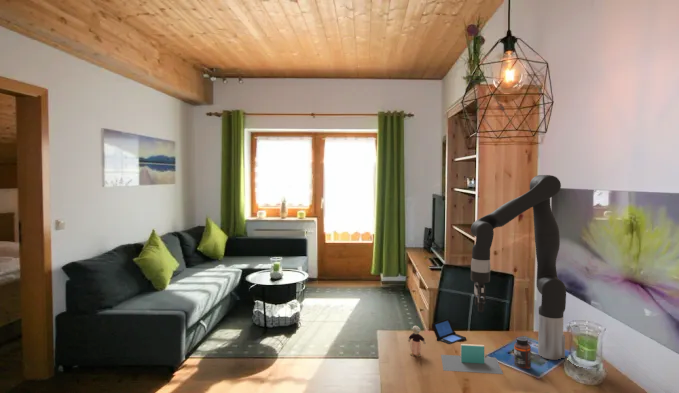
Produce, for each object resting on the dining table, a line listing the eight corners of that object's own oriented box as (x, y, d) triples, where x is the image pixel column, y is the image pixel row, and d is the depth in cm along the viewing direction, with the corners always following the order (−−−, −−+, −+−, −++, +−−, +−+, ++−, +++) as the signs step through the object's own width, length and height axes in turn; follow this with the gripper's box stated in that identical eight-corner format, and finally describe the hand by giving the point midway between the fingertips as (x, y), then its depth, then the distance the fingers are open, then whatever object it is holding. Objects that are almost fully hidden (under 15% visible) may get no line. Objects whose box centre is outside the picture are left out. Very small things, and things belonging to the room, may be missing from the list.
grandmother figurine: (406, 356, 175) (406, 326, 175) (408, 352, 179) (407, 323, 178) (425, 358, 173) (425, 328, 172) (426, 354, 177) (426, 325, 176)
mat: (495, 359, 171) (495, 357, 170) (503, 376, 157) (503, 374, 157) (440, 356, 174) (440, 354, 174) (443, 372, 161) (443, 370, 161)
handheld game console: (449, 347, 184) (449, 330, 184) (430, 339, 193) (430, 323, 193) (467, 340, 191) (467, 324, 191) (448, 333, 200) (448, 317, 200)
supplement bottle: (529, 364, 166) (530, 336, 165) (531, 371, 160) (531, 342, 160) (513, 362, 168) (513, 334, 167) (514, 369, 162) (514, 340, 162)
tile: (483, 362, 167) (483, 345, 166) (484, 363, 165) (484, 346, 165) (460, 360, 168) (460, 343, 168) (461, 362, 167) (461, 345, 166)
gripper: (493, 274, 163) (491, 314, 164) (487, 266, 177) (485, 303, 178) (473, 273, 164) (472, 313, 165) (468, 265, 178) (467, 302, 179)
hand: (479, 308), depth 172 cm, fingers open, 8 cm apart
